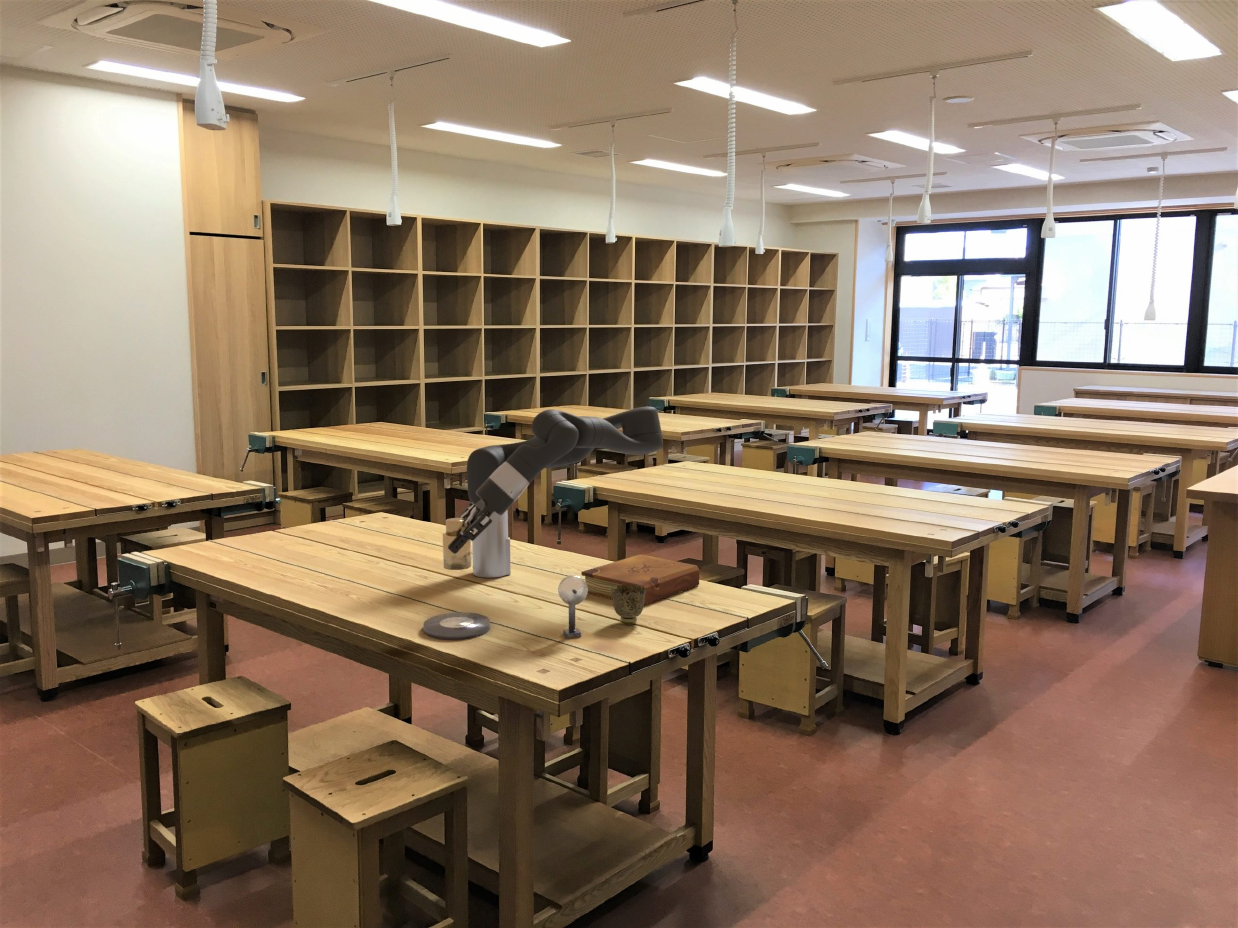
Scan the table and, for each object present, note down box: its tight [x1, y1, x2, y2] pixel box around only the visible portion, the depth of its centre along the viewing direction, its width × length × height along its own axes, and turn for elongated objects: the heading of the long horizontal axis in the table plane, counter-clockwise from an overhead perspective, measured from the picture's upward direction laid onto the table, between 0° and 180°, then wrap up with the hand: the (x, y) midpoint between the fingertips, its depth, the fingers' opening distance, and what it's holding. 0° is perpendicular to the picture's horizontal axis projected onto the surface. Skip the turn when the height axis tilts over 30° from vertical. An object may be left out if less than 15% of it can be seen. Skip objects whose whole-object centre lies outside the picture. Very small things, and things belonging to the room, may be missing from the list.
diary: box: [580, 553, 700, 606], centre depth 233 cm, size 23×19×6 cm
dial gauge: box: [557, 574, 588, 639], centre depth 197 cm, size 6×4×13 cm, turn 109°
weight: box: [442, 517, 472, 571], centre depth 200 cm, size 6×6×10 cm
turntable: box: [422, 611, 491, 641], centre depth 202 cm, size 14×14×2 cm
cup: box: [611, 583, 646, 626], centre depth 206 cm, size 8×7×8 cm
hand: (448, 547), depth 199 cm, fingers closed on weight, 5 cm apart
